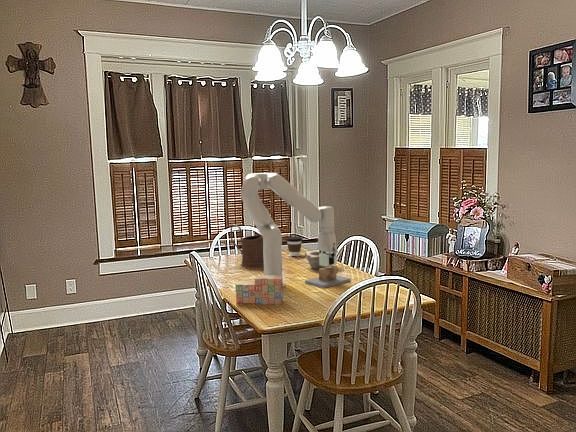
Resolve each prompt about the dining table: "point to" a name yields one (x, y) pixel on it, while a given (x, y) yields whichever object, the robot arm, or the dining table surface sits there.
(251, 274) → the dining table surface
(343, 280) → the baseplate
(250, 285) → the stack of blocks
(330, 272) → the walnut brick
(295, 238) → the coffee cup
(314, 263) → the mortar
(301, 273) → the dining table surface
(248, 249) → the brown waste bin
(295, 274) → the dining table surface
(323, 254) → the mint brick
